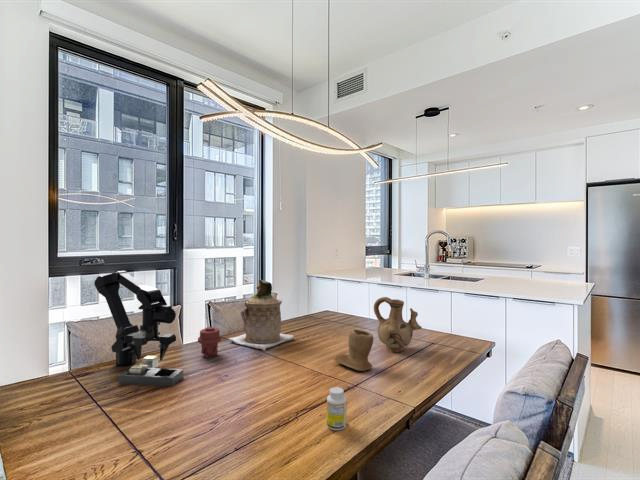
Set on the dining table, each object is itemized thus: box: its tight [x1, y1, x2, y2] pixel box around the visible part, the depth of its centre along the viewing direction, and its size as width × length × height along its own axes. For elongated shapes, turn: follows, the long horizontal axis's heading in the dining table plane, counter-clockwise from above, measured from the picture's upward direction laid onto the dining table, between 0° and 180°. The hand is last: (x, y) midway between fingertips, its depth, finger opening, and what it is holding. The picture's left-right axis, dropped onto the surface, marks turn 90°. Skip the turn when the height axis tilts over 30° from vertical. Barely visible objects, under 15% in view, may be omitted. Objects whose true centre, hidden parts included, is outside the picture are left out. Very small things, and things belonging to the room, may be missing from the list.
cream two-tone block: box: [141, 355, 159, 368], centre depth 136 cm, size 4×4×5 cm
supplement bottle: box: [326, 386, 347, 431], centre depth 97 cm, size 6×6×10 cm
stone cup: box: [333, 328, 374, 372], centre depth 142 cm, size 15×12×15 cm
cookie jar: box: [228, 279, 295, 351], centre depth 176 cm, size 25×25×32 cm
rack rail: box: [117, 367, 184, 387], centre depth 125 cm, size 20×8×4 cm, turn 86°
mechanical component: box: [197, 326, 222, 359], centre depth 153 cm, size 12×10×10 cm
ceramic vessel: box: [373, 296, 423, 352], centre depth 164 cm, size 18×19×25 cm
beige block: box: [129, 364, 147, 375], centre depth 125 cm, size 4×4×5 cm
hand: (150, 359), depth 136 cm, fingers open, 9 cm apart
